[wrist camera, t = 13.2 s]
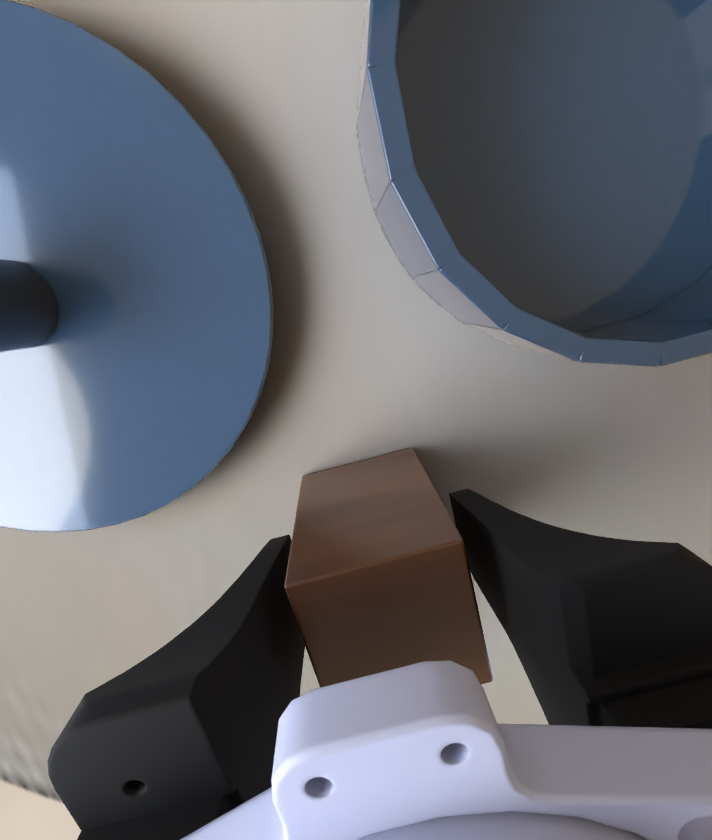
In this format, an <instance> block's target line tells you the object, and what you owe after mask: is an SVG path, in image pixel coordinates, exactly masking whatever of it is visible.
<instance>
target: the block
mask: <svg viewBox="0 0 712 840" xmlns="http://www.w3.org/2000/svg"><path fill="white" fill-rule="evenodd" d="M284 588H285V591H286V594H287V596H288V599H289V602H290V605H291V607H292V610H293V613H294V616H295V619H296V621H297V624H298V627H299V630H300V632H301V635H302V638H303V641H304V644H305V646H306V649H307V652H308V655H309V657H310V660H311V663H312V666H313V669H314V671H315V674H316V677H317V680H318V682H319V685H320V688H321V687H325V686H329V685H333V684H337V683H341V682H345V681H349V680H352V679H356V678H360V677H364V676H368V675H372V674H376V673H380V672H384V671H388V670H392V669H396V668H400V667H404V666H408V665H412V664H416V663H420V662H424V661H453V662H455V663H457V664H459V665H461V666H463V667H466V668H468V669H470V670H472V671H473V672H474V674H475V676H476V677H477V679H478V680H479V682H480V684H484V683H488V682H491V681H492V673H491V668H490V663H489V659H488V654H487V649H486V644H485V639H484V635H483V630H482V625H481V620H480V616H479V611H478V606H477V601H476V597H475V592H474V587H473V582H472V577H471V573H470V568H469V563H468V558H467V554H466V549H465V544H464V541H463V539H462V537H461V535H460V533H459V531H458V530H457V528H456V526H455V524H454V522H453V520H452V519H451V517H450V515H449V513H448V511H447V509H446V508H445V506H444V504H443V502H442V500H441V498H440V497H439V495H438V493H437V491H436V489H435V487H434V486H433V484H432V482H431V480H430V478H429V476H428V475H427V473H426V471H425V469H424V467H423V466H422V464H421V462H420V460H419V458H418V456H417V455H416V453H415V451H414V449H413V448H408V449H404V450H400V451H396V452H392V453H389V454H385V455H381V456H377V457H373V458H369V459H366V460H362V461H358V462H354V463H350V464H346V465H343V466H339V467H335V468H331V469H327V470H323V471H320V472H316V473H312V474H308V475H304V476H302V482H301V488H300V494H299V500H298V506H297V512H296V518H295V524H294V530H293V536H292V543H291V549H290V555H289V561H288V567H287V573H286V579H285V585H284Z"/></svg>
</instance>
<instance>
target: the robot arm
mask: <svg viewBox="0 0 712 840" xmlns="http://www.w3.org/2000/svg"><path fill="white" fill-rule="evenodd" d="M449 496H450V501H451V505H452V510H453V515H454V519H455V524H456V528H457V530H458V531H459V533H460V535H461V537H462V539H463V541H464V544H465V549H466V554H467V558H468V563H469V568H470V571H471V573H472V575H473V577H474V579H475V581H476V582H477V584H478V586H479V587H480V589H481V591H482V593H483V594H484V596H485V598H486V599H487V601H488V603H489V604H490V606H491V608H492V609H493V611H494V613H495V614H496V616H497V618H498V619H499V621H500V623H501V624H502V626H503V628H504V629H505V631H506V633H507V635H508V637H509V639H510V640H511V642H512V644H513V646H514V648H515V650H516V652H517V655H518V657H519V659H520V661H521V663H522V665H523V667H524V670H525V672H526V674H527V676H528V678H529V680H530V683H531V685H532V687H533V689H534V692H535V694H536V696H537V698H538V700H539V703H540V705H541V707H542V709H543V712H544V714H545V716H546V718H547V721H548V723H549V725H533V724H497V722H496V719H495V717H494V714H493V712H492V709H491V707H490V704H489V702H488V699H487V696H486V694H485V691H484V689H483V687H482V685H481V684H480V682H479V680H478V679H477V677H476V676H475V674H474V672H473V671H472V670H470V669H468V668H466V667H463V666H461V665H459V664H457V663H455V662H453V661H424V662H420V663H416V664H412V665H408V666H404V667H400V668H396V669H392V670H388V671H384V672H380V673H376V674H372V675H368V676H364V677H360V678H356V679H352V680H349V681H345V682H341V683H337V684H333V685H329V686H325V687H321V688H317V689H314V690H312V691H310V692H308V693H306V694H304V695H302V696H300V684H301V675H302V666H303V658H304V649H305V644H304V641H303V638H302V635H301V632H300V630H299V627H298V624H297V621H296V619H295V616H294V613H293V610H292V607H291V605H290V602H289V599H288V596H287V594H286V591H285V588H284V585H285V579H286V573H287V567H288V561H289V555H290V549H291V543H292V541H291V538H290V535H286V536H282V537H278V538H274V539H271V540H270V541H269V542H268V543H267V544H266V545H265V546H264V548H263V549H262V550H261V551H260V552H259V554H258V555H257V556H256V557H255V559H254V560H253V561H252V562H251V564H250V565H249V566H248V567H247V568H246V570H245V571H244V572H243V573H242V574H241V576H240V577H239V578H238V579H237V580H236V581H235V582H234V583H233V584H232V586H231V587H230V588H229V589H228V590H227V591H226V592H225V593H224V594H223V595H222V597H221V598H220V599H219V600H218V601H217V602H216V603H215V604H214V605H213V606H212V607H211V608H210V609H208V610H207V611H206V612H205V613H204V614H203V615H202V616H201V617H200V618H199V619H197V620H196V621H195V622H194V623H193V624H192V625H190V626H189V627H188V628H187V629H185V630H184V631H183V632H181V633H180V634H179V635H178V636H176V637H175V638H174V639H173V640H171V641H170V642H169V643H167V644H166V645H165V646H163V647H162V648H161V649H159V650H158V651H156V652H155V653H153V654H152V655H150V656H149V657H147V658H146V659H144V660H143V661H141V662H140V663H138V664H137V665H135V666H134V667H132V668H130V669H129V670H127V671H126V672H124V673H122V674H120V675H119V676H117V677H115V678H113V679H112V680H110V681H108V682H106V683H105V684H103V685H101V686H99V687H97V688H96V689H94V690H92V691H90V692H88V693H86V694H85V696H84V697H83V699H82V700H81V702H80V704H79V705H78V707H77V709H76V710H75V712H74V713H73V715H72V717H71V718H70V720H69V721H68V723H67V725H66V726H65V728H64V729H63V731H62V733H61V734H60V736H59V738H58V739H57V741H56V742H55V744H54V746H53V747H52V749H51V752H50V756H49V759H48V774H49V777H50V779H51V782H52V784H53V786H54V788H55V791H56V792H57V794H58V795H59V797H60V798H61V800H62V801H63V803H64V804H65V806H66V808H67V809H68V811H69V812H70V814H71V815H72V817H73V818H74V820H75V821H76V823H77V825H78V826H79V828H80V829H81V830H82V831H81V833H80V835H79V837H78V839H77V840H712V566H711V565H709V564H708V563H707V562H705V561H704V560H702V559H701V558H700V557H698V556H697V555H695V554H694V553H692V552H691V551H689V550H688V549H686V548H685V547H683V546H682V545H680V544H679V543H667V542H645V541H630V540H622V539H613V538H606V537H600V536H594V535H589V534H584V533H579V532H574V531H570V530H566V529H562V528H559V527H555V526H552V525H549V524H545V523H542V522H539V521H536V520H534V519H531V518H529V517H526V516H524V515H521V514H519V513H516V512H514V511H512V510H509V509H507V508H505V507H503V506H501V505H499V504H497V503H495V502H493V501H491V500H489V499H487V498H485V497H483V496H481V495H480V494H478V493H476V492H474V491H472V490H470V489H464V490H460V491H456V492H452V493H449Z"/></svg>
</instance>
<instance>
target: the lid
mask: <svg viewBox="0 0 712 840" xmlns="http://www.w3.org/2000/svg"><path fill="white" fill-rule="evenodd" d="M273 317H274V305H273V296H272V286H271V277H270V271H269V267H268V263H267V258H266V254H265V250H264V246H263V241H262V238H261V236H260V233H259V230H258V227H257V225H256V222H255V219H254V216H253V214H252V211H251V208H250V206H249V204H248V202H247V200H246V198H245V196H244V194H243V192H242V190H241V188H240V186H239V184H238V182H237V180H236V178H235V176H234V174H233V172H232V171H231V169H230V167H229V166H228V164H227V163H226V161H225V160H224V158H223V157H222V155H221V154H220V152H219V151H218V149H217V148H216V146H215V145H214V143H213V142H212V140H211V139H210V137H209V136H208V135H207V134H206V132H205V131H204V130H203V129H202V128H201V126H200V125H199V124H198V123H197V122H196V120H195V119H194V118H193V117H192V116H191V114H190V113H189V112H188V111H187V110H186V108H185V107H184V106H183V105H182V104H181V102H180V101H179V100H177V99H176V98H175V97H174V96H173V95H172V94H171V93H170V92H169V91H168V90H167V89H166V88H165V87H164V86H163V85H162V84H161V83H160V82H159V81H157V80H156V79H155V78H154V77H153V76H152V75H151V74H150V73H149V72H148V71H146V70H145V69H144V68H142V67H141V66H140V65H138V64H137V63H136V62H134V61H133V60H132V59H130V58H129V57H128V56H126V55H125V54H124V53H122V52H121V51H120V50H118V49H117V48H116V47H114V46H113V45H111V44H109V43H107V42H106V41H104V40H102V39H100V38H99V37H97V36H95V35H93V34H92V33H90V32H88V31H87V30H85V29H83V28H81V27H80V26H78V25H76V24H74V23H71V22H69V21H66V20H64V19H62V18H59V17H57V16H55V15H52V14H50V13H47V12H45V11H43V10H40V9H38V8H35V7H31V6H28V5H24V4H20V3H17V2H13V1H9V0H0V527H6V528H13V529H20V530H27V531H46V532H67V531H80V530H91V529H96V528H101V527H106V526H111V525H116V524H120V523H123V522H126V521H129V520H132V519H135V518H138V517H141V516H144V515H146V514H148V513H151V512H153V511H155V510H157V509H159V508H161V507H163V506H165V505H167V504H169V503H171V502H172V501H174V500H175V499H177V498H178V497H180V496H182V495H183V494H185V493H186V492H188V491H189V490H191V489H192V488H193V487H195V486H196V485H197V484H198V483H199V482H200V481H201V480H203V479H204V478H205V477H206V476H207V475H208V474H209V473H211V472H212V471H213V470H214V469H215V467H216V466H217V465H218V464H219V463H220V462H221V460H222V459H223V458H224V457H225V456H226V455H227V453H228V452H229V451H230V450H231V449H232V447H233V446H234V444H235V443H236V441H237V439H238V438H239V436H240V435H241V433H242V432H243V430H244V428H245V427H246V425H247V424H248V422H249V420H250V418H251V416H252V413H253V411H254V409H255V407H256V405H257V402H258V400H259V398H260V395H261V392H262V389H263V385H264V382H265V379H266V375H267V372H268V368H269V362H270V355H271V349H272V342H273Z"/></svg>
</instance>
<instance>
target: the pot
mask: <svg viewBox="0 0 712 840" xmlns="http://www.w3.org/2000/svg"><path fill="white" fill-rule="evenodd" d="M357 137H358V141H359V146H360V152H361V158H362V165H363V171H364V177H365V181H366V184H367V188H368V191H369V195H370V198H371V202H372V205H373V209H374V211H375V215H376V217H377V218H378V220H379V223H380V225H381V227H382V230H383V232H384V234H385V237H386V239H387V240H388V242H389V244H390V245H391V247H392V249H393V251H394V252H395V254H396V256H397V257H398V259H399V261H400V263H401V264H402V265H403V266H404V268H405V269H406V270H407V272H408V273H409V275H410V276H411V277H412V279H413V280H414V281H415V282H416V283H417V285H418V286H419V287H420V288H421V289H422V290H423V291H424V292H425V293H426V294H428V295H429V296H430V297H431V298H432V299H433V300H434V301H435V302H436V303H437V304H438V305H439V306H441V307H442V308H443V309H445V310H446V311H447V312H449V313H450V314H451V315H453V316H454V317H455V318H456V319H457V320H458V321H460V322H462V323H463V324H465V325H468V326H470V327H472V328H475V329H476V330H478V331H480V332H482V333H485V334H488V335H491V336H493V337H496V338H498V339H501V340H503V341H506V342H508V343H510V344H513V345H515V346H518V347H522V348H526V349H530V350H533V351H537V352H541V353H545V354H549V355H553V356H557V357H561V358H565V359H569V360H573V361H577V362H583V363H601V364H618V365H636V366H653V367H656V366H664V365H667V364H671V363H675V362H679V361H683V360H687V359H690V358H694V357H698V356H702V355H706V354H709V353H712V0H366V8H365V17H364V25H363V34H362V42H361V59H360V77H359V94H358V113H357Z"/></svg>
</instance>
